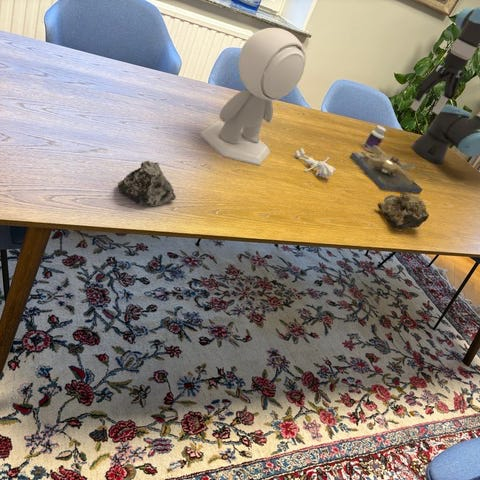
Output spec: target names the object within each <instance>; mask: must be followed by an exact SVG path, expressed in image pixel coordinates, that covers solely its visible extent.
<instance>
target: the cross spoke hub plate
mask: <svg viewBox="0 0 480 480" xmlns="http://www.w3.org/2000/svg"><path fill="white" fill-rule="evenodd" d="M370 157H372V158H379V157H378V156H377V155H376V156H375V155H370V154H369V153H368V152H363V151H357V150H356V151H355V152H351V154H350V156H349V158H350V159H351V161H353V162H354V163H355V164H356V165H357V167H359V169H360V170H361V171H362V172H363V173H364V174H365V175H366V176H367V177H368V178H369V179H370V180H371V181H372V182H373V183H374V184H375V186H377V187H378V188H379V189H380V191H387V192H400V193H404V194H405V193H408V194H414V195H416V194H417V195H420V194H421V192H422V191H423V187H421V186H420V185H419V184H418V183H417V182H416V181H415V180H414V181H413V183H412V184H411V185H407V184H406V183H405V182H404V181H403V180H402V179H401V178H400V177H399V176H398V175H396V174H395V175H390V174H387V173H385V172H383V171H382V170H380V169H379V168H378V167H377V166H372V165H369V164H368V163H367V161H368V159H369V158H370Z"/></svg>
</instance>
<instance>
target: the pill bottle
mask: <svg viewBox="0 0 480 480" xmlns="http://www.w3.org/2000/svg"><path fill="white" fill-rule="evenodd" d="M386 132H387V129H386V127H385V128H384V127H383V126H381V125H376V127H375V129H373V130H371V132H370V133H369V135H368V137H367V139H366V140H365V142H364V144H363V146H362V148H363V149H364V150H365V151H367V152H369V153H371V154H375V153H374V152H373V151H372V150H371V149H372V147H373V146H374V145H375V146H378V147H379V148H380V145H381V143H382V142H383V140H384V139H385V136H384V134H385V133H386Z"/></svg>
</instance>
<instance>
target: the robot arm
mask: <svg viewBox="0 0 480 480" xmlns="http://www.w3.org/2000/svg"><path fill="white" fill-rule="evenodd" d="M454 21H455V22H454V24H455V26H456V27H457V29H459V30H460V33H459V34H458V36H457V38H456V40H455V41H454V42H453V44H452V46H451V48H450V51H448V52H447V53H446V55H445V57H444V59H443V63H444V64H443V65H440V64H436V66H435V67H434V68H433V70H432V71H431V72H429V74H428V75H427V76H426V77H424V79H422V81H421V82H419V84H418V86H417V88H416V89H417V90H418V92H417V95H416V96H415V98H414V100H413V102H412V103H411V105H410V109H412V110H413V111H415V112H417V111H418V109H419V107H420V106H421V104H422V103H423V101H424V100H425V98H426V96H427V95H428V94H427V93H428V92H430V90H432V89H433V88H435V87H436V86H437V85H438V84H439V83H443V82H445V84H444V85H445V86H444V95H443V94H442V95H441V96H440V98H439V100H438V101H437V102H436V104H435V106H434V107H433V109H432V110H431V112H433V113H434V114H435V115H436V116H435V118H434V119H433V120H432V122H431V123H430V125H429V126H428V128H427V130H426V131H425V132H424V133H423V134H422V135H421V136H420V137H418V138H417V139H416V140H415V141H414V142H413V143H412V145H411V148H412V150H413V151H414V152H415V153H416V154H418V155H419V156H420V157H422V158H424V159H425V160H426V161H430V162H433V163H434V164H443V162H444V160H445V158H446V155H447V153H448V150H449V148H450V145H452V146H454V147H455V148H456V149H458V151H459V152H460V153H461V154H464V155H465V156H467V157H470V158H471V157H478V156H480V113H478V114H475V115H474V116H472V114H471V112H470V111H467V110H465V109H463V108H460V107H457V106H455V105H452V104H447V102H448V101H449V100H450V101H451V100H453V98H455V97H456V95H457V92H458V88H459V85H460V82H461V79H462V77H463V76H464V72H463V71H464V69H465V68H466V66H467V65H468V63H469V60H471V59H472V57H473V56H474V55H475V52H476V51H477V50H478V48H479V47H480V5H478V6H477V7H476V8H472V7H465V8H463V9H462V10H460V12H458V14H457V16H456V17H455V20H454ZM471 116H472V117H471Z"/></svg>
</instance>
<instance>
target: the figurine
mask: <svg viewBox="0 0 480 480" xmlns="http://www.w3.org/2000/svg"><path fill="white" fill-rule="evenodd" d="M301 156H303V157H304V158H303V157H301ZM294 157H295V158H296V159H300V161H304V162H305V164H306V165H308V166H312V167H310V168H308V169H307V168H304V171H303V173H307V172H308V171H311V170H313V169H317V171H316V172H315V176H318V175H319V177H320V178H321V177H322V178H323V179H324V178H325V179H328V178H329V177H330V178H332V177H333V174H334V171H337V170H336V168H335V166H334V167H333V166H332V165H330V164H328V163H326V162H328V161H329V160H330V158H331V156H330V157H329V156H327V158H326V159H325V160H323V161H321V160H320V161H318V160H315V159H314V158H313V157H311V156H307V155H306V152H305V150H304V148H302V147H301V148H300V150H295V153H294Z"/></svg>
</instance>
